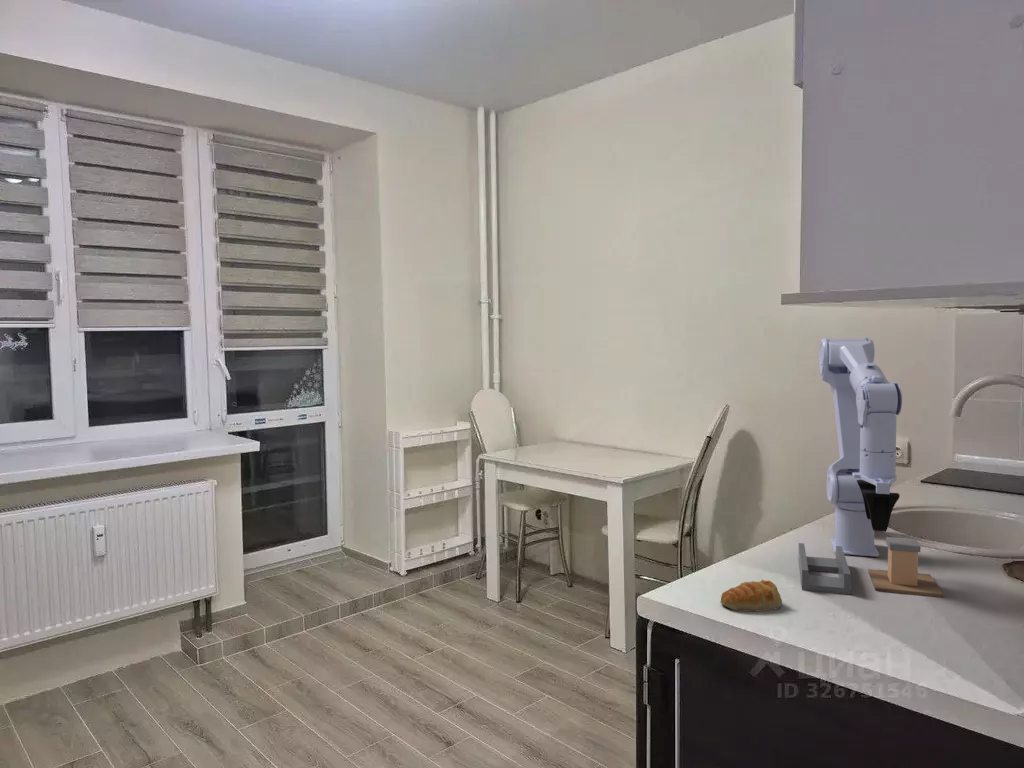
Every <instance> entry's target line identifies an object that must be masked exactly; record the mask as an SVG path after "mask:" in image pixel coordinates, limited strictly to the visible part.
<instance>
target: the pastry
mask: <svg viewBox="0 0 1024 768" xmlns="http://www.w3.org/2000/svg"><path fill="white" fill-rule="evenodd" d="M719 602H720V604H721V605H723V606H724V607H727V608H729V609H731V610H733V611H744V610H746V612H747V610H748V611H749V612H757V610H762V611H769V610H770V611H772V610H776V609H775V608H778V609H779V607H781V606H782V605H783V600H782V597H781V594H780V593H779V590H778V587H777V585H776V584H775V583H774V582H772V581H771V580H765V579H761V580H760V581H743V582H742V583H740V584H739V585H737V586H735V587H731V588H729V589H728V590H726V591H724V592H723V593H721V597H720V601H719ZM771 609H772V610H771Z"/></svg>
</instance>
